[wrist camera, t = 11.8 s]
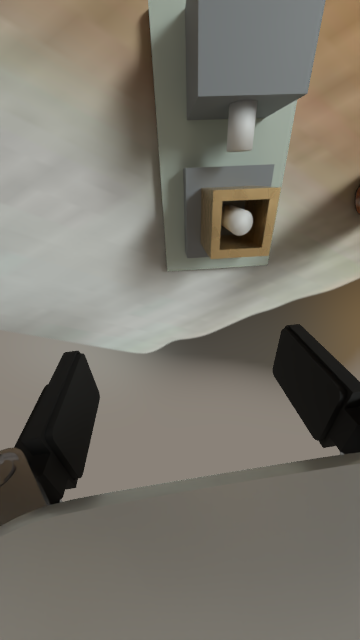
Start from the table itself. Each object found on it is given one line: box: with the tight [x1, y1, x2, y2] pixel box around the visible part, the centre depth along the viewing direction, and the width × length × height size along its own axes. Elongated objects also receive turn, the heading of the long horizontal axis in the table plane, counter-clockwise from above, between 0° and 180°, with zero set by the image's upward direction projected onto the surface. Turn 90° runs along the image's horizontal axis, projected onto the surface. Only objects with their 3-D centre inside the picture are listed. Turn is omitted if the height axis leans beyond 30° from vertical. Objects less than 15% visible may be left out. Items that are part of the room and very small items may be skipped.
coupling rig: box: [148, 0, 325, 271], centre depth 22 cm, size 14×23×9 cm, turn 2°
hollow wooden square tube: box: [201, 186, 281, 259], centre depth 22 cm, size 6×6×6 cm
